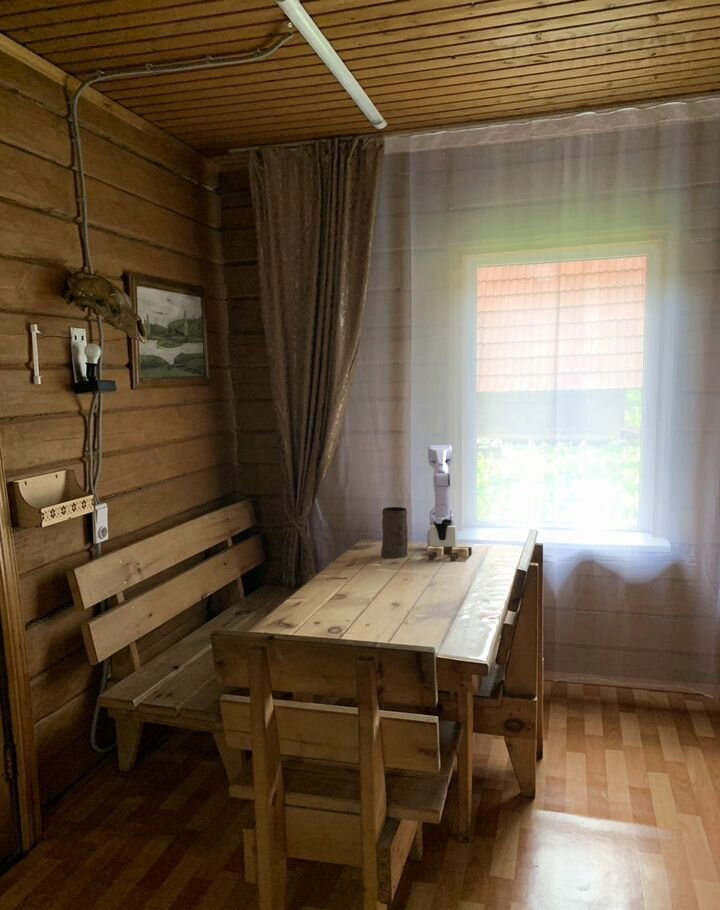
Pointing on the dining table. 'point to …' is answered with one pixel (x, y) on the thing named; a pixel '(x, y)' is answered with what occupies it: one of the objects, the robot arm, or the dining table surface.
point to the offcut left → (435, 550)
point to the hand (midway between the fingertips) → (443, 539)
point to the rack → (447, 555)
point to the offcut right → (460, 551)
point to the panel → (449, 540)
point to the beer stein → (394, 533)
